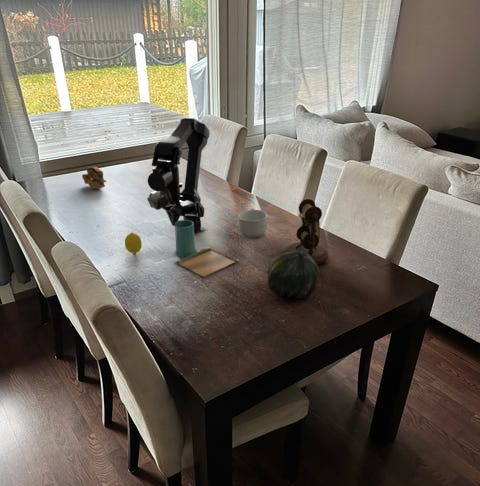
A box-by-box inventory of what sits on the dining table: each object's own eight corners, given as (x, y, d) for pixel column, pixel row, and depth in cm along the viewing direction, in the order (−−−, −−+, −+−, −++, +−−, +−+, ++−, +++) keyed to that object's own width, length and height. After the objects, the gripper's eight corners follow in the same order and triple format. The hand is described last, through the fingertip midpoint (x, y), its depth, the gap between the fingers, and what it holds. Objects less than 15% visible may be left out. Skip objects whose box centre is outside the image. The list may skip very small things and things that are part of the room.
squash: (267, 259, 135) (270, 240, 121) (314, 262, 135) (324, 243, 121) (265, 303, 131) (269, 289, 117) (314, 306, 131) (324, 292, 117)
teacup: (264, 241, 159) (265, 221, 155) (235, 238, 161) (235, 218, 157) (269, 226, 171) (270, 207, 166) (242, 224, 172) (243, 205, 168)
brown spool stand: (333, 267, 143) (341, 209, 132) (290, 270, 141) (294, 212, 130) (319, 247, 155) (325, 193, 145) (279, 250, 153) (282, 195, 143)
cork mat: (176, 263, 144) (176, 260, 144) (208, 249, 153) (207, 246, 152) (203, 277, 137) (203, 274, 136) (235, 262, 145) (235, 259, 144)
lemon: (145, 251, 151) (143, 230, 147) (137, 258, 147) (134, 237, 143) (131, 249, 153) (129, 228, 149) (123, 256, 149) (120, 234, 144)
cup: (172, 253, 151) (170, 223, 145) (187, 247, 155) (185, 218, 149) (184, 259, 147) (182, 229, 141) (199, 252, 151) (197, 223, 145)
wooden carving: (80, 186, 210) (76, 165, 205) (88, 183, 213) (84, 163, 208) (103, 193, 202) (99, 171, 197) (110, 190, 205) (107, 169, 200)
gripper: (133, 180, 142) (138, 224, 150) (168, 194, 131) (172, 241, 139) (161, 173, 149) (164, 215, 157) (196, 185, 138) (198, 231, 146)
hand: (174, 225), depth 150 cm, fingers closed
